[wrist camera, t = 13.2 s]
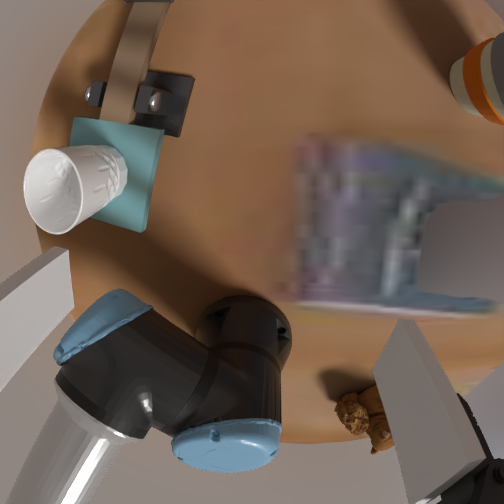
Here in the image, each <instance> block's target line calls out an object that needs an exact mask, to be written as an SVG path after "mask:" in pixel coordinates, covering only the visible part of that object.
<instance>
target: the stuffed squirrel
mask: <svg viewBox="0 0 504 504" xmlns="http://www.w3.org/2000/svg"><path fill="white" fill-rule="evenodd" d="M335 411H336V412H337V415H338V417H339V419H340V421H341V422H342V424H344V425H345V426H346V429H348V430H349V431H350V432H351V434H354V435H359V434H363V433H364V432H366V433H367V434H368V435H369V436H370V438H371V443H372V445H373V447H372V450H371V454H373V455H374V454H376V453H378V451H383V450H386V449H389V448H391V447H392V446H394V441H393V438H392V434H391V430H390V427H389V423H388V420H387V417H386V413H385V410H384V407H383V403H382V400H381V397H380V394H379V391H378V387H377V384H376V385H374V386H371V387H370V388H368V389H366V390H364V391H363V392H362V393H360V394H359V395H358V393H354V392H353V393H348V394H346V395H345V396H343V397H342V399H341V400H339V402H338V403H337V405H336V408H335Z"/></svg>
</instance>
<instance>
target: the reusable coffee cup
mask: <svg viewBox="0 0 504 504" xmlns="http://www.w3.org/2000/svg"><path fill="white" fill-rule="evenodd" d="M449 77H450V86H451V89H452V92H453V95H454V97H455V99H456V100H457V102H458V103H459V105H460V106H461V107H462V108H463V109H464V110H466V111H467V112H469V113H470V114H473V115H477V116H481V117H484V118H486V119H487V120H489V121H491V122H494V123H497V124H500V125H504V32H503V33H501V34H499V35H498V36H497V37H496V38H490V39H488V40H486V41H484V42H482V43H480V44H479V45H477V46H475V47H473V48H472V49H470V50H469V51H468V52H467V54H466V56H464V57H462V58H460V59H459V60H457V61H456V62H455V63H454V64H453V65H452V67H451V70H450V76H449Z"/></svg>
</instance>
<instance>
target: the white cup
mask: <svg viewBox="0 0 504 504" xmlns="http://www.w3.org/2000/svg"><path fill="white" fill-rule="evenodd" d="M127 173H128V169H127V166H126V163H125V160H124V157H123V156H122V155H121V154H120V153H119V152H118V151H117V150H116V148H113V147H110V146H107V145H96V146H95V145H83V146H82V145H80V146H68V147H59V148H49V149H44V150H42V151H40V152H38V153H37V154H36V155H35V156H34V157H33V158H32V159H31V161H30V162H29V164H28V166H27V169H26V172H25V175H24V182H23V193H24V199H25V203H26V207H27V209H28V212H29V214H30V216H31V217H32V219H33V220H34V222H35V223H36V224H37V225H38V226H39V227H40V228H41V229H43V230H44V231H46V232H48V233H51V234H63V233H66V232H68V231H69V230H71V229H72V228H73V227H75V226H76V225H78V224H79V223H81V222H82V221H84V220H85V219H87V218H89V217H90V216H92V215H93V214H94V213H96V212H97V211H99V210H100V209H102V208H103V207H105V206H106V205H107V204H108V203H109V202H111V201H113V200H114V199H115V198H116V197H118V196H119V195H120V194H122V192H123V190H124V187H125V185H126V183H127Z"/></svg>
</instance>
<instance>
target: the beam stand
mask: <svg viewBox="0 0 504 504" xmlns="http://www.w3.org/2000/svg"><path fill="white" fill-rule="evenodd" d="M194 82H195V79H194V78H190V77H184V76H177V75H170V74H163V73H155V72H147V74H146V77H145V81H144V84H143V86H141V85H140V88H139V92H138V96H137V100H136V104H135V108H134V112H136V116H135V121H134V124H136V125H142V126H147V127H153V128H158V129H163V130H165V131H164V135H169V136H174V137H180V134H181V130H182V126H183V122H184V118H185V114H186V110H187V107H188V103H189V99H190V96H191V92H192V89H193V85H194ZM106 87H107V83H106V82H97V81H92V85H90V86H89V87H88V88H87V90H86V92H85V100H86V102H87V106H95V107H102V104H103V100H104V95H105V91H106Z"/></svg>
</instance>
